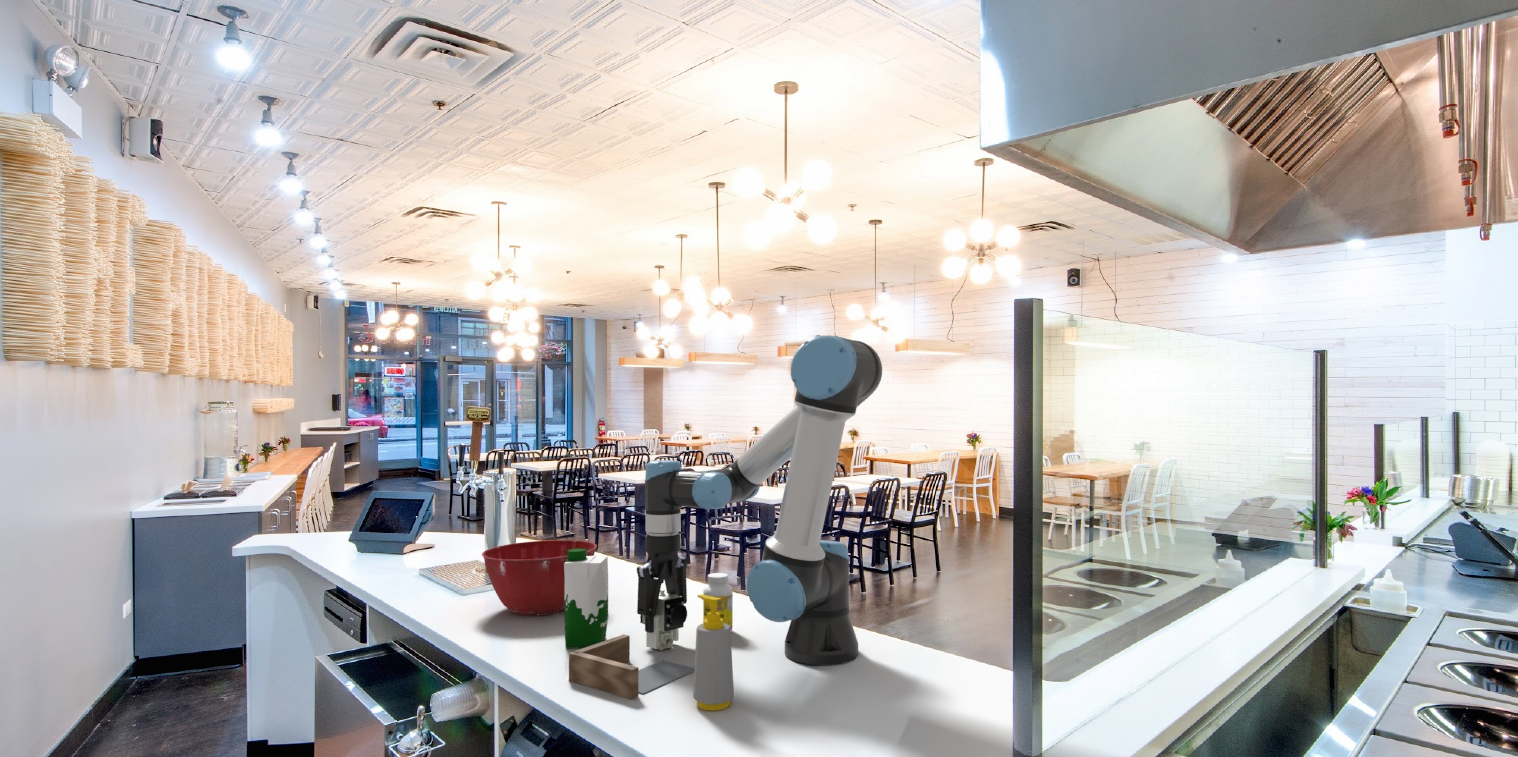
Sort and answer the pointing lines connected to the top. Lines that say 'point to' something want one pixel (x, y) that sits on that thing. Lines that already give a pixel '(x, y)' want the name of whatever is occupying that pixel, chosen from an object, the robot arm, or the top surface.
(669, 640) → the pneumatic valve
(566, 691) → the top surface
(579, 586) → the milk carton
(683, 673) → the slate pad
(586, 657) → the walnut corner
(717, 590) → the supplement bottle
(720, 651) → the soap bottle
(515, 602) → the mixing bowl
